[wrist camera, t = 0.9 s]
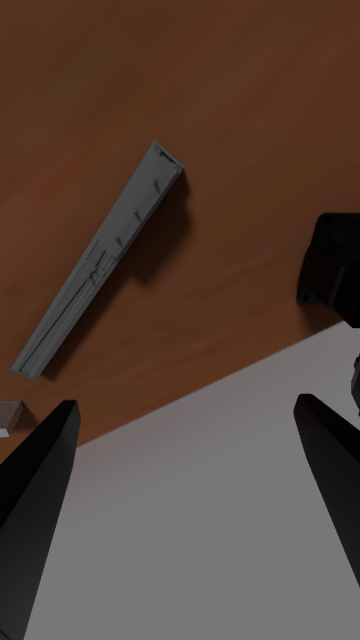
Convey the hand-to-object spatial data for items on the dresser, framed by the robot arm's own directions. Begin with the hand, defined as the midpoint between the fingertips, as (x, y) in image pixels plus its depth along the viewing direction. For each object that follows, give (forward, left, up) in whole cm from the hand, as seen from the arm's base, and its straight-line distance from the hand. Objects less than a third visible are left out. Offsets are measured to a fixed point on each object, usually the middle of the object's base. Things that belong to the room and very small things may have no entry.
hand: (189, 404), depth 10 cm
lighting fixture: (+6, 0, -12) cm, 14 cm away
